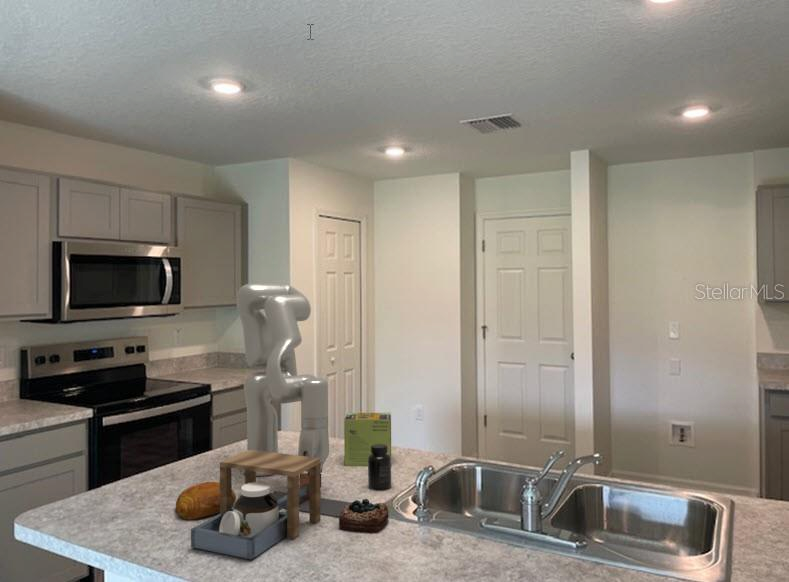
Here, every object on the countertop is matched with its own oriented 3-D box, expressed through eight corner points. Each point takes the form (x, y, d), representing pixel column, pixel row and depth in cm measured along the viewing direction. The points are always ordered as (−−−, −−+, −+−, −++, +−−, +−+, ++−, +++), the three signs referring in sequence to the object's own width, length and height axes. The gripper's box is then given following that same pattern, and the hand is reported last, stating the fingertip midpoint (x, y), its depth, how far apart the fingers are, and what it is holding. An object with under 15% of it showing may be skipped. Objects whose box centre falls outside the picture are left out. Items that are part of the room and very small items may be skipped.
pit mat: (253, 503, 161) (253, 502, 161) (274, 492, 170) (274, 490, 170) (338, 517, 151) (338, 516, 151) (356, 504, 160) (356, 503, 160)
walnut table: (220, 525, 146) (219, 461, 146) (249, 508, 157) (249, 449, 157) (294, 539, 138) (294, 471, 138) (320, 520, 149) (320, 458, 149)
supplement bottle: (392, 483, 177) (392, 443, 177) (390, 491, 171) (389, 449, 170) (369, 482, 178) (369, 442, 178) (366, 490, 171) (366, 448, 171)
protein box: (390, 466, 195) (390, 418, 195) (344, 466, 195) (343, 418, 195) (391, 457, 205) (391, 412, 205) (347, 457, 205) (346, 412, 205)
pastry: (380, 536, 140) (380, 511, 140) (332, 531, 143) (332, 506, 143) (392, 518, 151) (392, 495, 151) (347, 514, 154) (347, 491, 154)
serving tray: (190, 546, 133) (190, 517, 133) (284, 493, 168) (284, 469, 168) (251, 559, 127) (251, 528, 127) (335, 501, 161) (335, 476, 161)
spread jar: (283, 532, 141) (283, 484, 141) (254, 552, 131) (254, 499, 131) (242, 525, 146) (242, 477, 146) (211, 543, 136) (211, 492, 136)
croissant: (243, 516, 158) (247, 486, 158) (188, 525, 146) (193, 492, 147) (215, 502, 168) (219, 473, 168) (162, 509, 156) (166, 478, 157)
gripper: (316, 416, 176) (316, 478, 176) (288, 427, 162) (289, 494, 162) (338, 418, 173) (339, 481, 173) (313, 429, 159) (313, 498, 159)
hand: (315, 487), depth 167 cm, fingers closed
